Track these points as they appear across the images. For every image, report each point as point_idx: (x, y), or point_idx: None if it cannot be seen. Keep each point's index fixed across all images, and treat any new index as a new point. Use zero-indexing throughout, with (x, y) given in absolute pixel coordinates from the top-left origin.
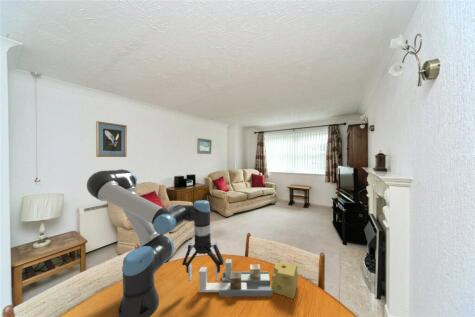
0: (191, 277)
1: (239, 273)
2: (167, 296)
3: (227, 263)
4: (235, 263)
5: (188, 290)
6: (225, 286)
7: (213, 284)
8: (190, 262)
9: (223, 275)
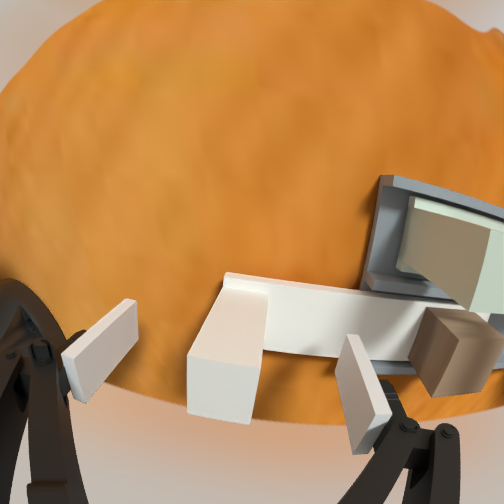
0: (135, 308)
1: (496, 349)
2: (73, 303)
3: (481, 311)
4: (450, 50)
5: (152, 282)
6: (388, 333)
7: (313, 307)
8: (69, 430)
9: (388, 186)
